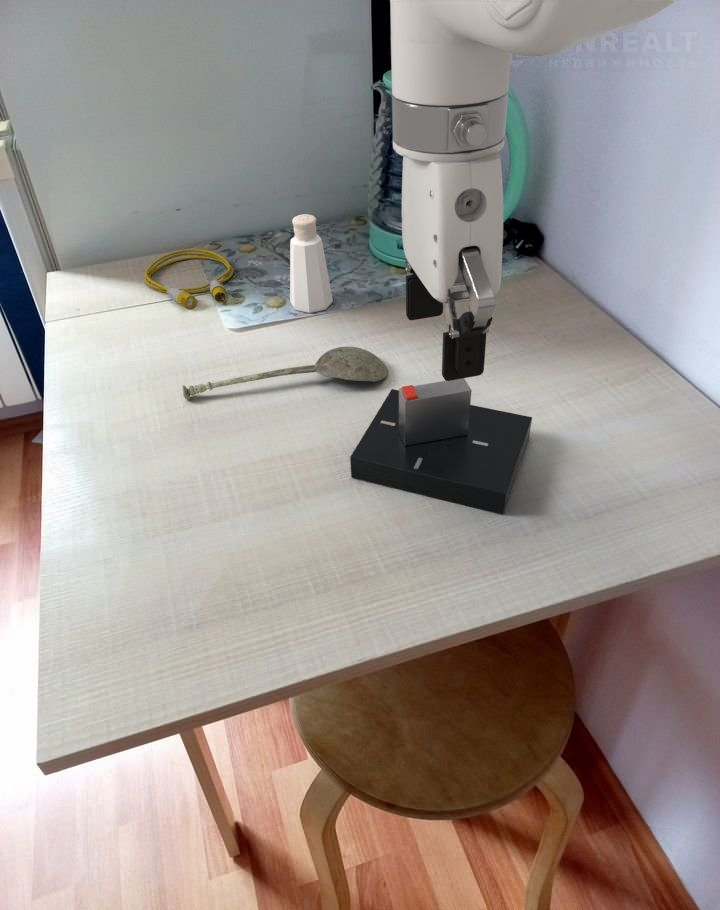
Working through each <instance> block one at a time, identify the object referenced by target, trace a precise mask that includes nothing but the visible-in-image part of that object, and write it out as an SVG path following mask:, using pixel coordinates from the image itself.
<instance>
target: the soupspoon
mask: <svg viewBox="0 0 720 910" xmlns="http://www.w3.org/2000/svg"><path fill="white" fill-rule="evenodd" d="M310 373H318V374H320V375H322V376H326V377H328V378H329V377H331V378H336V379H341V380H345V381H346V380H347V381H353V382H354V381H356V382H379V381H382V380H384V379H385V378H387V376H388V375H389V369H388V367H387V365H386V364H385V362H383V360H382V359H380V358H379V357H378V356H377V355H376V354H374V353H373V352H371V351H369V350H367V349H364V348H361V347H358V346H339V347H335V348H332V349H330V350H327V351H326V352H324V353H323V354H322V355H321V356H320V357H319V358H318V359H317V361H316V363H315V364H309V365H301V366H294V367H286V368H280V369H275V370H269V371H265V372H259V373H253V374H249V375H245V376H244V375H243V376H238V377H234V378H230V379H225V380H219V381H215V382H210V381H208V382H207V383H206V384H203V383H202V384H201V383H199V384H197V385H189V386H188V388H187V386H186V385H185V384H182V385H181V391H182V395H183V397H184V400H186V401H187V402H188V401H190V397H191V396H192V397H195V396H196V395H198V394H200V393H201V394H202V393H204V392H206V391H207V390H209V391H212V390H213V389H215V388H221V387H226V386H232V385H238V384H243V383H249V382H255V381H261V380H265V379H270V378H276V377H277V378H278V377H283V376H289V375H299V374H310Z"/></svg>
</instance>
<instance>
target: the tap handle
mask: <svg viewBox="0 0 720 910" xmlns="http://www.w3.org/2000/svg"><path fill="white" fill-rule="evenodd" d="M398 390H399V434H400V436H401V439H402V441H403V443H404V445H405V446H407V445H413V444H419V443H424V442H430V441H435V440H441V439H447V438H452V437H458V436H463V435H468V426H469V415H470V405H471V403H472V388H471V387H470V386H469V383H468V382H467V380H466V378H463V379H457V380H451V381H446V380H441V381H435V382H430V383H424V384H418V385H413V384H410V385H403V386H401V387H399V388H398Z"/></svg>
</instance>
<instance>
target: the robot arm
mask: <svg viewBox="0 0 720 910" xmlns="http://www.w3.org/2000/svg"><path fill="white" fill-rule="evenodd" d="M675 2H677V0H389V3H390V5H389V6H390V56H391V57H390V59H391V60H390V63H391V119H392V125H391V126H392V149H393V151H394V152H395V153H396V154H398V155H400V156H402V173H401V174H402V176H401V177H402V178H401V237H402V247H403V253H404V256H405V262H404V267H405V271H406V274H407V275H405V316H406V318H407V319H408V320H409V321H416V320H417V321H418V320H422V319H429V318H436V317H440V316H442V315H443V313H444V317H445V322H446V323H445V324H446V327H447V331H445V332H442V349H441V351H442V356H441V376H442V378H443V380H444V381H451V380H457V379H463V378H464V379H467V378H472V377H479V376H481V375H483V373H484V371H485V359H486V346H487V345H486V344H487V335H488V333H489V332H490V326H491V324H492V322H493V316H492V315H493V313H494V311H495V308H496V305H497V300H496V296H497V294H498V293H499V292H500V290H501V285H502V269H503V267H502V266H503V247H504V246H503V245H504V186H503V184H504V183H503V169H502V159H501V155H500V153H499V152H500V151H501V150H502V149H503V148H505V147H504V146H505V141H506V129H507V128H506V127H507V117H508V116H507V115H508V105H509V103H508V102H509V88H510V75H511V64H512V55H515V56H523V57H543V56H550V55H553V54H558V53H561V52H563V51H566V50H569V49H571V48H574V47H577V46H580V45H583V44H585V43H588V42H590V41H593V40H595V39H597V38H600V37H603V36H606V35H609V34H611V33H615V32H617V31H620V30H625V29H626V28H630V27H632V26H636V25H638V24H640V23H642V22H644V21H646V20H648V19H650V18H652V17H653V16H655V15H656V14H658V13H660V12H661V11H663V10H664V9H666V8H667V7H669V6H671V5H672V4H674V3H675ZM463 285H465V287H466V290H459V291H453V292H452V291H451V290H453V288H454V287H457V286H463ZM465 302H469V304H468V311H464V312H463V313H462V314H461V315H460V316H459V318H458V312H457V308H456V307H457V306H456V304H459V303H465Z"/></svg>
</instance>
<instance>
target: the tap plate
mask: <svg viewBox="0 0 720 910" xmlns="http://www.w3.org/2000/svg"><path fill="white" fill-rule="evenodd" d="M532 423H533V417H532V416H529V415H523V414H518V413H515V412H509V411H504V410H498V409H493V408H489V407H483V406H479V405H474V404H470V415H469V426H468V435H463V436H458V437H452V438H447V439H441V440H435V441H430V442H424V443H419V444H413V445H407V446H405V445H404V443H403V441H402V439H401V436H400V434H399V389H394V388H391V390H390V391H389V393H388V394H387V396H386V398H385V399H384V401H383V403H382V404H381V406H380V407H379V409H378V411H377V412H376V414H375V415H374V417H373V419H372V421H371V422H370V424H369V425H368V427H367V429H366V430H365V432H364V434H363V435H362V436H361V439H360V441H359V442H358V444H357V445H356V447H355V448H354V450H353V451H352V453H351V455H350V457H349V459H350V478H351V479H355V480H360V481H365V482H368V483H371V484H375V485H380V486H384V487H388V488H392V489H396V490H401V491H405V492H408V493H413V494H416V495H420V496H425V497H428V498H432V499H437V500H441V501H444V502H449V503H453V504H457V505H462V506H465V507H470V508H474V509H478V510H482V511H486V512H490V513H494V514H499V515H504V513H505V511H506V507H507V505H508V502H509V499H510V495H511V492H512V490H513V486H514V483H515V481H516V478H517V475H518V473H519V469H520V466H521V464H522V461H523V457H524V455H525V451H526V448H527V445H528V442H529V440H530V436H531V435H530V434H531V428H532Z"/></svg>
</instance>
